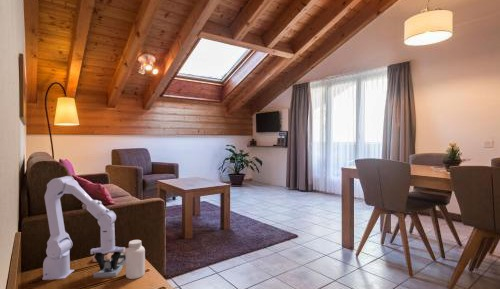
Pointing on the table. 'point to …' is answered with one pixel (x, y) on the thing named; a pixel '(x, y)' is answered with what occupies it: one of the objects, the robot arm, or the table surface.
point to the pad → (120, 260)
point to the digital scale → (122, 257)
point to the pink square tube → (104, 257)
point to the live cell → (108, 265)
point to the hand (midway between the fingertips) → (108, 268)
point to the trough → (110, 274)
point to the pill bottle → (135, 260)
